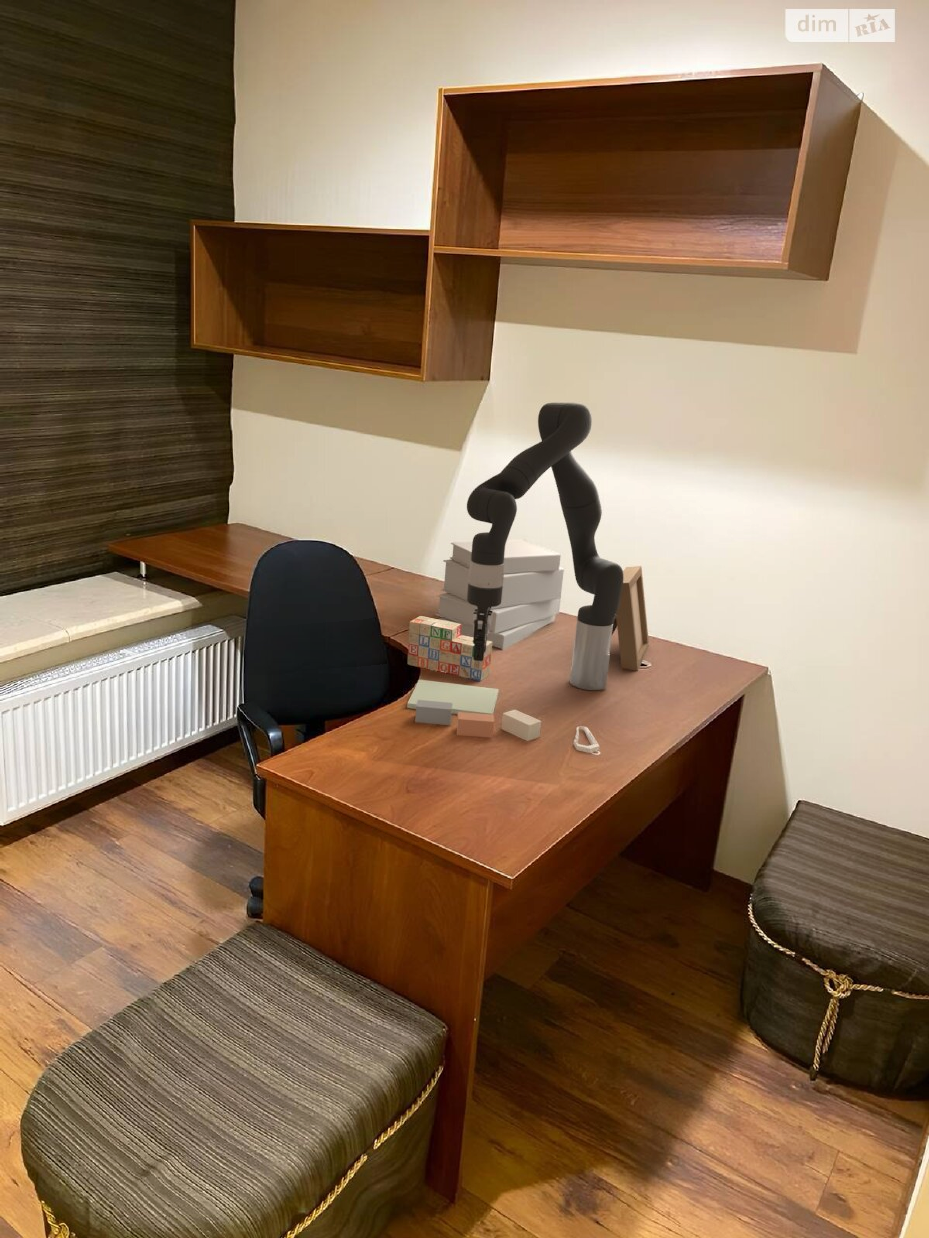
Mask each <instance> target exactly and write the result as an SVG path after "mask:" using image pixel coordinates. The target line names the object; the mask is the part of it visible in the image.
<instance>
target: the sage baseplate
mask: <svg viewBox="0 0 929 1238" xmlns="http://www.w3.org/2000/svg"><path fill="white" fill-rule="evenodd" d="M498 696H499V688H492V687H491V688H490V687H484V686H483V687H482V686H476V685H467V684H461V683H460V684H459V683H458V684H457V683H451V682H441V681H435V680H428V679H427V680H425V679H418V680H417V683H416V685H415V688H414V689H413V691H412V693H411V695H410V697H409V699H408V701H407V703H406V704H407V705H406V708H407V709H413V710H416V705H417V701H418V700H426V701H437V702H448V703H452V715H453V714H454V715H458V712H465V713H478V714H491V715H494V712H495V709H496V708H495V707H496V705H497V700H498Z"/></svg>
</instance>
